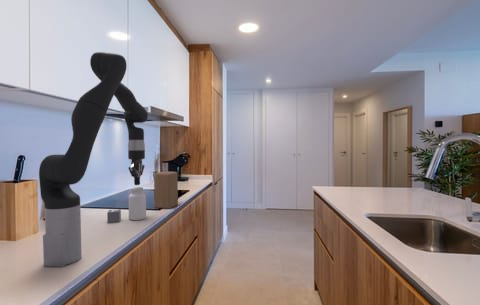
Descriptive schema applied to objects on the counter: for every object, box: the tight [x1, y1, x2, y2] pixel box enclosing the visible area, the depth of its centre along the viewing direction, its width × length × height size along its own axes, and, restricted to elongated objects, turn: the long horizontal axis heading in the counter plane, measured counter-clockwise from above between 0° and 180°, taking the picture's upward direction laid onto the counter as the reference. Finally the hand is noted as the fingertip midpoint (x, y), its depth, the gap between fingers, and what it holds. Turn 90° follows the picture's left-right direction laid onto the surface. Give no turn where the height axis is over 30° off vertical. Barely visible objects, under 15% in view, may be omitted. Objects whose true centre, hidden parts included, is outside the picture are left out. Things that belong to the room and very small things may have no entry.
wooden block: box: [153, 171, 179, 210], centre depth 151 cm, size 10×10×20 cm
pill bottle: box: [128, 186, 147, 221], centre depth 128 cm, size 8×8×15 cm
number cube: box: [106, 208, 122, 224], centre depth 123 cm, size 5×5×5 cm
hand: (137, 184), depth 127 cm, fingers closed
